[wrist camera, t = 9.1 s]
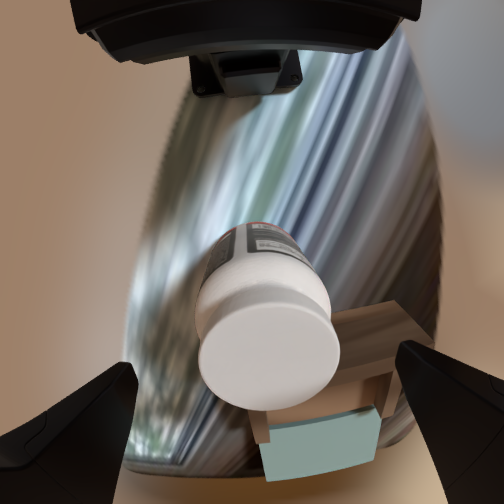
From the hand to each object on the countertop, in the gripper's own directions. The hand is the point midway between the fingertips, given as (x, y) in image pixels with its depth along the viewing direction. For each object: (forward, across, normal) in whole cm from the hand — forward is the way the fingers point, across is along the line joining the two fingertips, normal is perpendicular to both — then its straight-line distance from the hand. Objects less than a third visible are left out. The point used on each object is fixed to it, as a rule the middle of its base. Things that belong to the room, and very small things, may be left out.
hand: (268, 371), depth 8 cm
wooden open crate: (+10, -5, +9) cm, 15 cm away
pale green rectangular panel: (+9, -5, +15) cm, 18 cm away
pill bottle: (+10, 0, 0) cm, 10 cm away
